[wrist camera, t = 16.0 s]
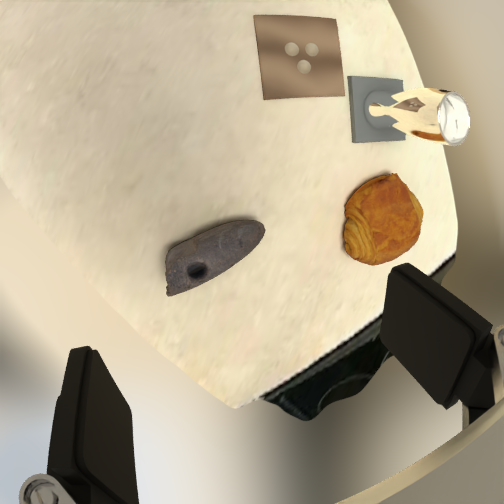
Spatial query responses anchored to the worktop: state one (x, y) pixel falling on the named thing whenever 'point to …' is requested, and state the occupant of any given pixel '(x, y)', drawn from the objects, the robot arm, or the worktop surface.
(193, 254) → the perforated stone tool
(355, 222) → the croissant
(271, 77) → the dot tile
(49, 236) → the worktop surface
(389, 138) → the rubber mat
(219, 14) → the worktop surface
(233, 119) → the worktop surface
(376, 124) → the beer glass
